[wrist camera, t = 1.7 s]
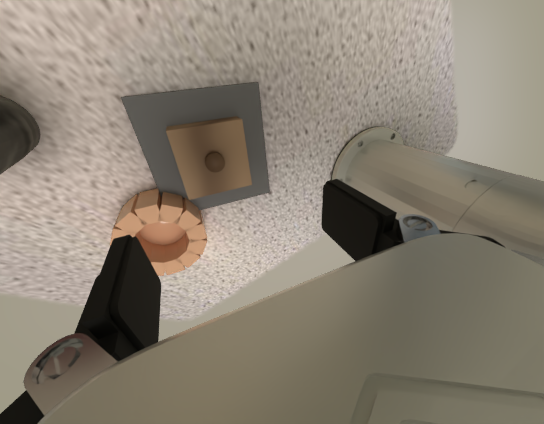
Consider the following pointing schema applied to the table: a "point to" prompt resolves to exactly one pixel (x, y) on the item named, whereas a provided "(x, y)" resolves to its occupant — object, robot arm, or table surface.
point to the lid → (210, 155)
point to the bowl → (163, 229)
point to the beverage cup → (15, 133)
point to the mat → (195, 108)
